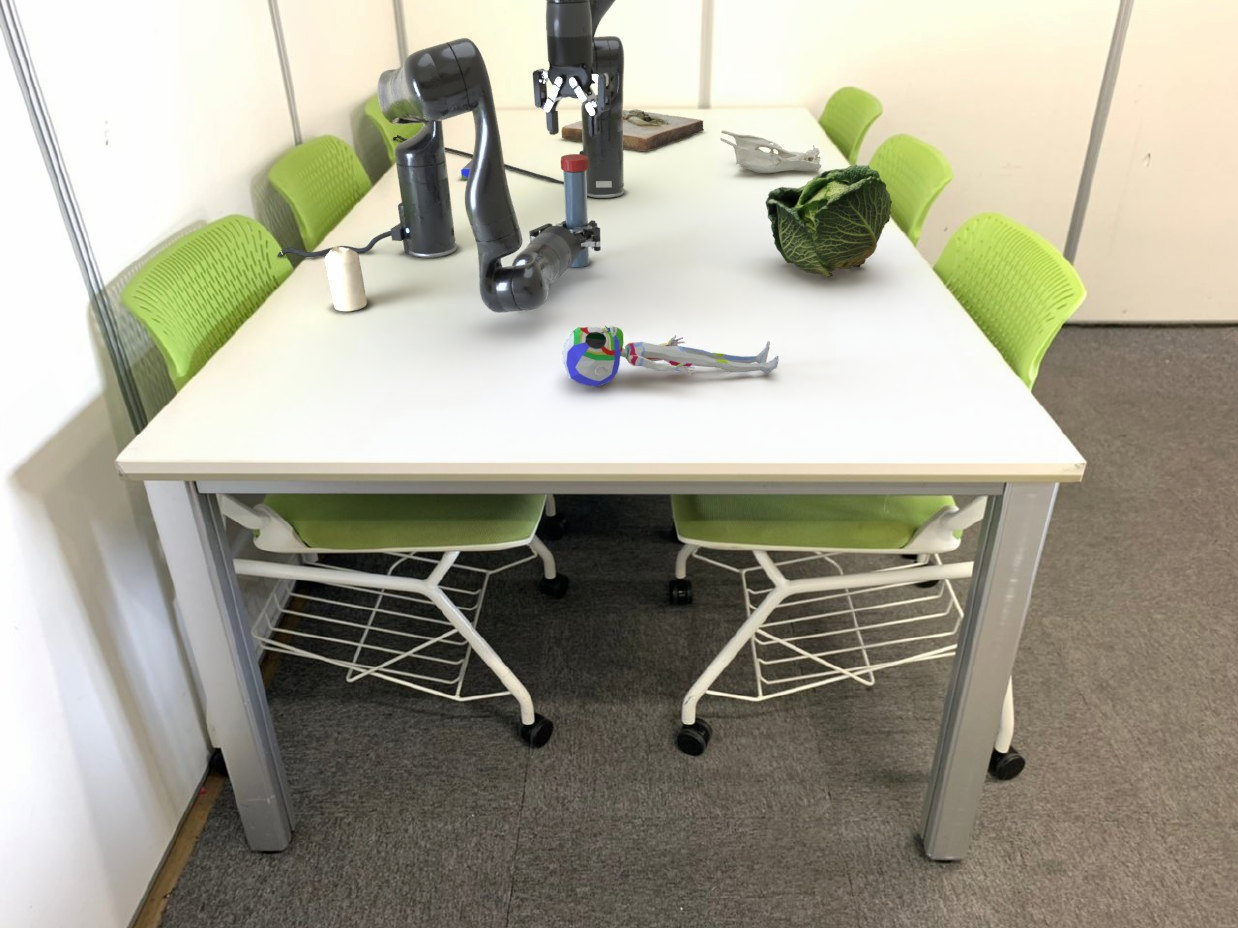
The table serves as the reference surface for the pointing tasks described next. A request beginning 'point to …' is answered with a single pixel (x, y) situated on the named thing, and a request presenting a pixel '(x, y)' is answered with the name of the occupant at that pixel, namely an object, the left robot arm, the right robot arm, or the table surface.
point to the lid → (574, 162)
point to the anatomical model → (770, 155)
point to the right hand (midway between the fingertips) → (573, 135)
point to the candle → (345, 279)
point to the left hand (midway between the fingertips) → (581, 224)
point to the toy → (644, 356)
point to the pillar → (466, 171)
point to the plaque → (645, 129)
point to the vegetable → (830, 219)
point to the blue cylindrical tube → (576, 208)
